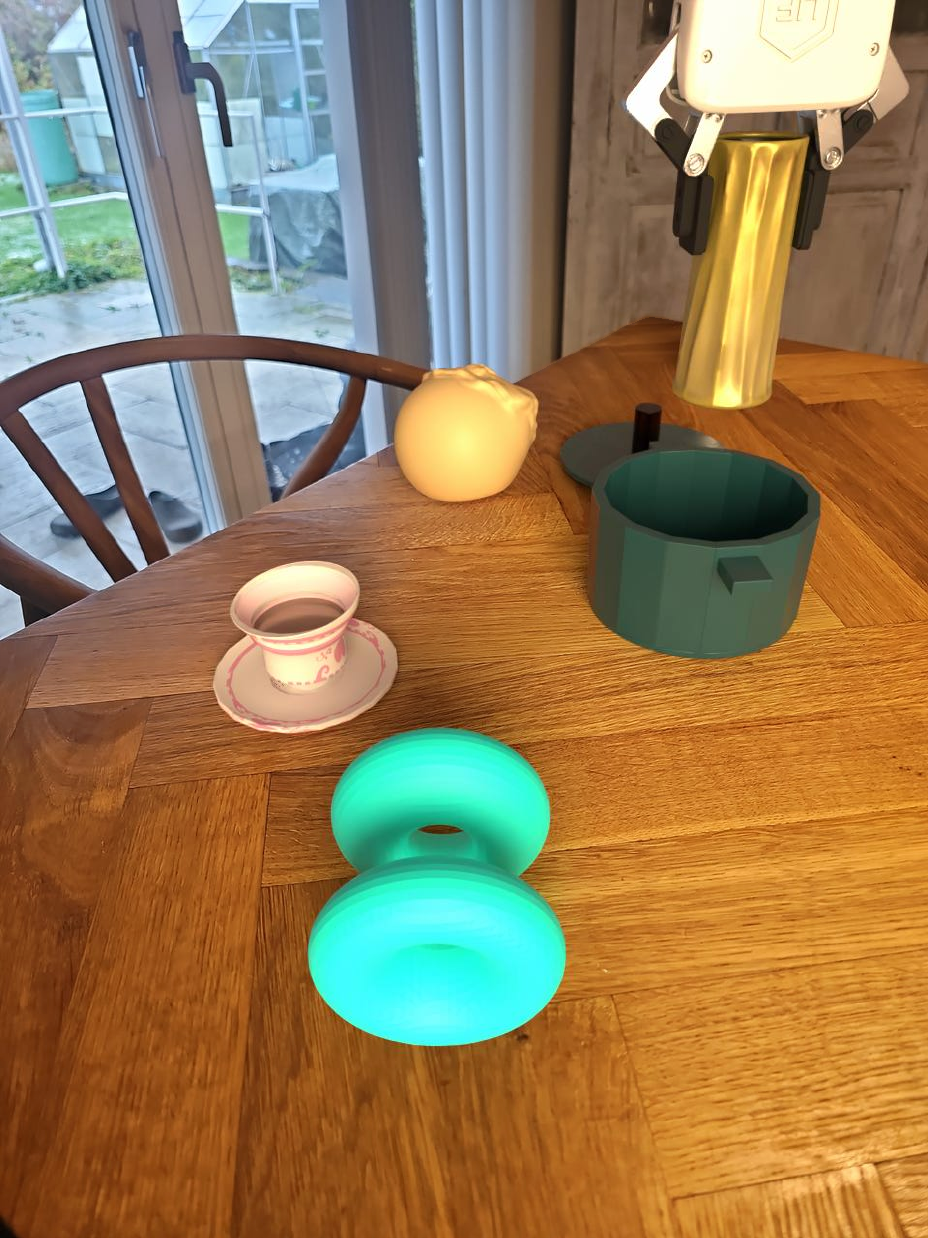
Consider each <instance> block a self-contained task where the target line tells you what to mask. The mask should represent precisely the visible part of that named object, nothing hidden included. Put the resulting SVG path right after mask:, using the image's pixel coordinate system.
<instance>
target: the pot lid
mask: <svg viewBox="0 0 928 1238" xmlns="http://www.w3.org/2000/svg"><path fill="white" fill-rule="evenodd" d="M633 417H634V419H633V421H621V422H619V421H618V422H612V423H605V424H600V425H596V426H592V427H589V428H586V429H584V430H581V431H579V432H577V433H574V434H573V435H571V436H570V437H569V438H568V439H567V440H565V442H564V443H563V444H562V445H561V448H560V451H559V462H560V465H561V467H562V469H563V470H564V472H565V473H566V474H567V475H568V476H569V477H570V478H572V479H573V480H575V481H576V482H578V483H579V484H581V485H583V486H586V487H588V488H591V489H592V487H593V485H594V483H595V481H596V479H597V477H598V475H599V472H600V471H601V470H602V469H603V468H605V467H607V466H608V465H610V464H612V463H613V462H615V461H616V460H618V459H620V458H621V457H623V456H627V455H631V454H634V453H638V452H642V451H646V450H649V443H650V442H659V441H677V440H679V441H680V442H681V443H682V444H683V446H701V447H711V448H721V449H727V448H726V447H725V445H723V444H722V443H721V442H720V441H719V440H717V439H715V438H713V437H712V436H710V435H708V434H706V433H704V432H700V431H698V430H696V429H692V428H690V427H685V426H682V425H676V424H670V423H666V422H665V423H663V422H662V417H663V407H662V406H661V405H660V404H658V403H653V402H642V403H639V404H638V403H637V405H635V407H634V416H633Z"/></svg>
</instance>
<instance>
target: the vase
mask: <svg viewBox="0 0 928 1238" xmlns="http://www.w3.org/2000/svg"><path fill="white" fill-rule="evenodd" d="M808 143H809V136H808V135H807V134H803V133H799V132H795V131H787V130H786V131H785V130H733V131H724V132H720V133H719V135H718V138H717V140H716V143H715V145H714V148H713V150H712V153H711V155H710V158H709V161H708V162H709V168H708V175H710V176H712V178H714V189H713V197H712V205H711V213H710V222H709V230H708V238H707V246H706V251H705V252H703V253H702V255H693V258H692V263H691V264H692V265H691V270H690V274H689V281H688V287H687V294H686V301H685V307H684V313H683V314H684V315H683V319H682V326H681V332H680V341H679V348H678V354H677V362H676V369H675V374H674V377H673V381H672V385H671V391H672V393H673V394H674V396H676V397H677V398H678V399H679V400H681V401H683V402H685V403H687V404H689V405H692V406H696V407H700V408H704V409H709V410H720V411H736V410H737V411H739V410H746V409H751V408H755V407H758V406H761V405H763V404H764V403H766V402H767V401H768V400H769V399H770V398H771V397H772V393H773V375H774V369H775V363H776V356H777V349H778V348H777V347H778V341H779V333H780V326H781V325H780V324H781V318H782V309H783V301H784V294H785V288H786V282H787V276H788V268H789V262H790V256H791V251H792V240H793V234H794V229H795V222H796V216H797V210H798V204H799V199H800V192H801V186H802V179H803V172H804V166H805V159H806V153H807V148H808Z"/></svg>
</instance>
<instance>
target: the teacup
mask: <svg viewBox="0 0 928 1238" xmlns="http://www.w3.org/2000/svg"><path fill="white" fill-rule="evenodd" d="M360 591H361V588H360V583H359V580H358V578H357V577H356V576H355V575H354V573H353V572H352V571H350V570H349V569H348V568H346V567H344V566H343V565H340V564H337V563H333V562H329V561H324V560H323V561H322V560H304V561H295V562H291V563H286V564H283V565H279V566H276V567H273V568H270V569H269V570H266V571H264V572H262V573H260V574H259V575H257V576H255V577H253V578H252V579H251V580H249V581H248V582H246V583H245V584H244V585H243V586H242V587H241V588H240V589H239V590H237V593H236V594H235V595H234V597H233V598H232V601H231V603H230V607H229V616H230V618H231V621H232V622H233V624H234V625H235V626H236V627H237V628H238V629H239V630H241V631H243V633H245V634H246V635H245V636H244V637H242V638H241V639H239V641H237V642H236V643H235V644H233V645H232V646H231V647H230V648H228V649H227V651H225V653H224V654H223V657H222V658H221V659H220V661H219V662H218V663H217V665H216V667H215V670H214V676H213V681H212V688H213V692H214V695H215V698H216V700H217V704H218V707H220V708H221V709H222V710H223V711H224V712H225V713H226V714H227V715H228V716H229V717H230V718H231V719H232V720H233V721H235V722H238V723H239V724H242V725H245V726H248V727H250V728H252V729H255V730H257V731H262V732H272V733H280V734H298V733H305V732H307V733H308V732H315V731H321V730H324V729H327V728H330V727H333V726H337V725H341V724H343V723H346V722H349V721H352V720H353V719H355V718H356V717H358V716H360V715H361V714H364V713H365V712H367V711H368V710H370V709H371V708H373V707H375V706H376V704H378V703H379V702H380V701H381V699H382V698H383V697H385V695H386V694H387V693H388V692H389V691H390V690H391V689H392V686H393V684H394V682H395V680H396V677H397V674H398V672H399V662H398V650H397V648H396V646H395V645H394V643H393V642H392V640H391V639H390V637H389V636H388V634H387V633H385V632H384V631H382V630H381V629H380V628H377V627H376V626H375V625H373V624H372V623H370V622H367V621H364V620H361V619H357V618H354V617H353V616H354V615H355V613H356V612H357V609H358V608H359V605H360ZM271 679H272V680H273V681H271ZM278 681H280V682H281V683H280V682H278ZM274 682H275V683H276V684H277V685H276V684H274ZM282 684H283V685H284V686H283V685H282ZM279 686H280V687H279Z"/></svg>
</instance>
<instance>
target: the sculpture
mask: <svg viewBox="0 0 928 1238" xmlns="http://www.w3.org/2000/svg"><path fill="white" fill-rule="evenodd" d="M538 413H539V400H538V397H536V395H535V394H534V393H533V392H532V391H531V390H529V389H527V388H525V387H523V386H519V385H517V384H514V383H511V382H509V381H507V380H506V379H505V378H502V377H500V376H499V375H498V373H497V372H496V371H494V370H493V369H492V368H491V367H489V366H486V365H485V364H482V363H472V364H467V365H465V366H457V367H453V368H448V367H440V368H433V370H429V371H426V372H425V373H424V374H423V375H422V379H421V383H420V384H419V385H417V386H416V387H415V388H414V389H413V390H412V391H411V392H410V393H409V395H408V396H407V397H406V398H405V399H404V401H403V403H402V406H401V407H400V409H399V411H398V414H397V418H396V419H395V425H394V430H393V447H394V453H395V456H396V460H397V463H398V465H399V468H400V470H401V472H402V474H403V475H404V477H405V478H406V480H407V482H409V484H410V485H411V486H412V487H413V488H414V489H415V490H416V491H417V492H419V493H420V494H421V495H423V496H425V497H427V498H429V499H432V500H435V501H440V502H449V503H461V502H469V501H475V500H480V499H484V498H489V497H492V496H494V495H497V494H499V493H501V492H502V491H504V490H506V489H507V488H508V487H509V486H510V485H511V484H512V483H513V481H514V480H515V478H516V477H517V475H518V474H519V472H520V470H521V468H522V466H523V464H524V462H525V460H526V457H527V455H528V452H529V449H530V447H531V446H532V444H533V443H534V442H535V440H536V437H537V429H538V422H537V415H538Z"/></svg>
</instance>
